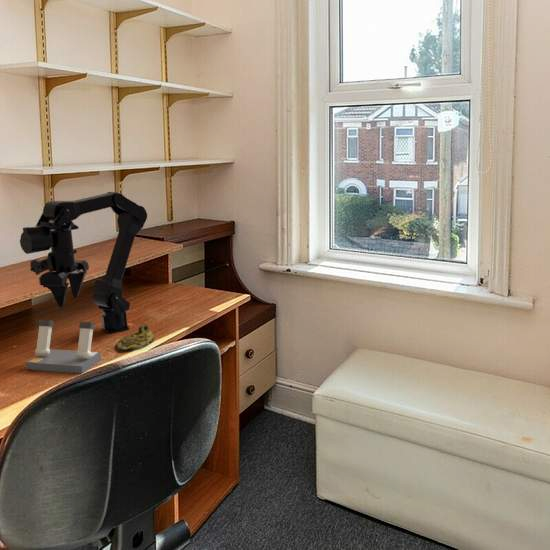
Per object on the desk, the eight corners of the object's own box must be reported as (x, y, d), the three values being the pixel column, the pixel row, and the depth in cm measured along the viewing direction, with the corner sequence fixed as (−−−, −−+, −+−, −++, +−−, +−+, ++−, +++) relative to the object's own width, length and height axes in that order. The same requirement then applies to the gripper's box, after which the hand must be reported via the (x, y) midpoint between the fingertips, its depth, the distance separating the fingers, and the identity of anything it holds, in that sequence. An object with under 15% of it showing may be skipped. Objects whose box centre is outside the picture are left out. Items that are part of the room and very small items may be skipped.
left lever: (38, 354, 147) (43, 320, 148) (49, 355, 146) (53, 320, 148) (34, 354, 145) (39, 319, 147) (45, 355, 145) (49, 320, 146)
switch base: (47, 355, 151) (46, 348, 151) (101, 359, 148) (100, 352, 147) (26, 369, 143) (25, 361, 142) (82, 373, 139) (81, 365, 139)
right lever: (79, 357, 144) (83, 322, 146) (90, 358, 144) (94, 323, 145) (75, 357, 143) (79, 321, 144) (86, 358, 142) (91, 322, 143)
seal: (138, 358, 151) (162, 338, 165) (138, 342, 150) (162, 323, 164) (107, 352, 154) (133, 333, 167) (106, 336, 152) (133, 318, 166)
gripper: (49, 241, 162) (55, 293, 166) (16, 254, 144) (24, 312, 148) (86, 241, 162) (92, 293, 165) (57, 254, 144) (64, 312, 147)
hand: (68, 302), depth 157 cm, fingers open, 9 cm apart
